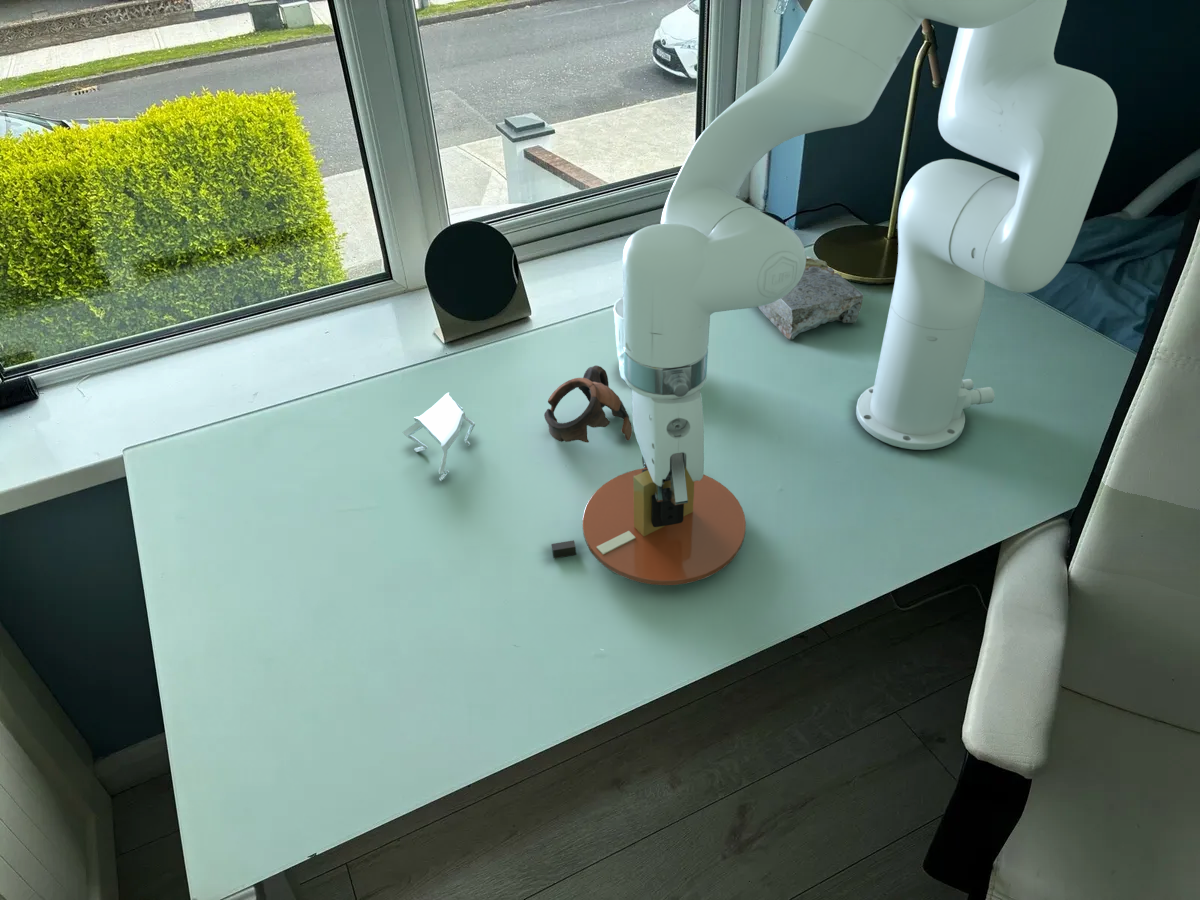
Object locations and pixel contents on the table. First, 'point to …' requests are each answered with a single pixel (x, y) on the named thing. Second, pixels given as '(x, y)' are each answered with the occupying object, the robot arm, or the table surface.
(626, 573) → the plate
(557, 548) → the dark grey rectangular block
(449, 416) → the origami figure
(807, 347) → the table surface
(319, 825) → the table surface
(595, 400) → the pottery mug
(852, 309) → the geological specimen
